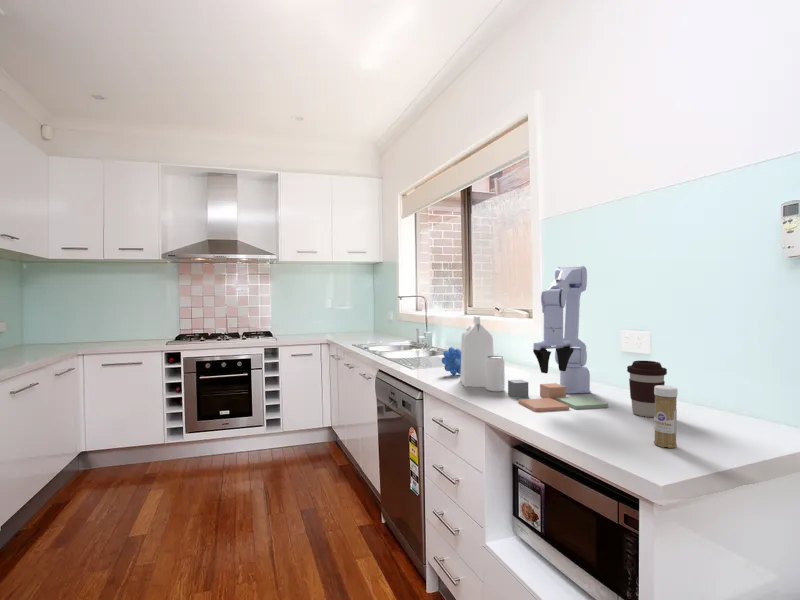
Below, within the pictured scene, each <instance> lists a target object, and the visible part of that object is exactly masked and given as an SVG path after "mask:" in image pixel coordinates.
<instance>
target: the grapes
mask: <svg viewBox="0 0 800 600" xmlns="http://www.w3.org/2000/svg"><path fill="white" fill-rule="evenodd" d="M442 355H443V357H442V359H441V363H442V364H443V366H444V368H443V369H444V370H445V371H446V372H449V373H450V374H451V375H452V376H455V375H457V374H458V375H461V349H460V348H456V349H455V348H454V347H452V346H450V347H448V350H444V351H443V353H442Z"/></svg>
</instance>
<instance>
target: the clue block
mask: <svg viewBox="0 0 800 600" xmlns="http://www.w3.org/2000/svg"><path fill="white" fill-rule="evenodd" d="M539 397H541V398H551V399H554V400H556V398H558V397H567V394H566V387H565V386H562V385H560V383H557V382H556V383H555V382H554V383H540V384H539Z"/></svg>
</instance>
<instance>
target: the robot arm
mask: <svg viewBox="0 0 800 600" xmlns="http://www.w3.org/2000/svg"><path fill="white" fill-rule="evenodd" d="M587 271H588V269H587V267H586V266H584V265H582V266H565V267H564V266H558V267H557V268H556V269H555V271H554V280H553V281H552V283H551V284H550V285H549V287H548V289H544V290H542V292H541V295H540V296H541V297H540V301H541V311H542V312H541V313H542V314H543V340H542V341H539V342H533V350H532V351H533V354H534V356H535V358H536V359H537V363H538V365H539V370H540V373H542V374H548V371H549V363H550V362H549V361H550V357H551V354H552V351H550V350H551V349H552V350H553V349H555V352H554V359H555V360H554V361H555V363H556V364H557V365H558V371H559V377H560V378H559V384H560V385H562V386H565V387H566V395H567V394H568V395H571V394H585V393H586V394H589V393H592V390H591V386H590V385H591V384H590V383H591V382H590V380H591V378H590V377H591V374H590V370H589V368H588V367H587V366H585V365H586V364H587V360H588V359H587V358H588V353H587V352H588V351H587V345H586V343H585V342H584V341H582V340H581V339H580V338H579V329H580V328H579V327H580V325H579V324H580V303H581V302H580V300H581V295H582V293H583V292H585V291H586V290H587V286H588V285H587V284H588V272H587ZM564 308H565V311H564ZM564 312H565V313H564ZM564 314H565V315H564Z"/></svg>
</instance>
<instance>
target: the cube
mask: <svg viewBox="0 0 800 600" xmlns="http://www.w3.org/2000/svg"><path fill="white" fill-rule="evenodd" d="M507 395H508V396H510V397H512V398H529V382H528V381H525V380H523V379H510V380H509V379H508V380H507Z"/></svg>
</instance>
